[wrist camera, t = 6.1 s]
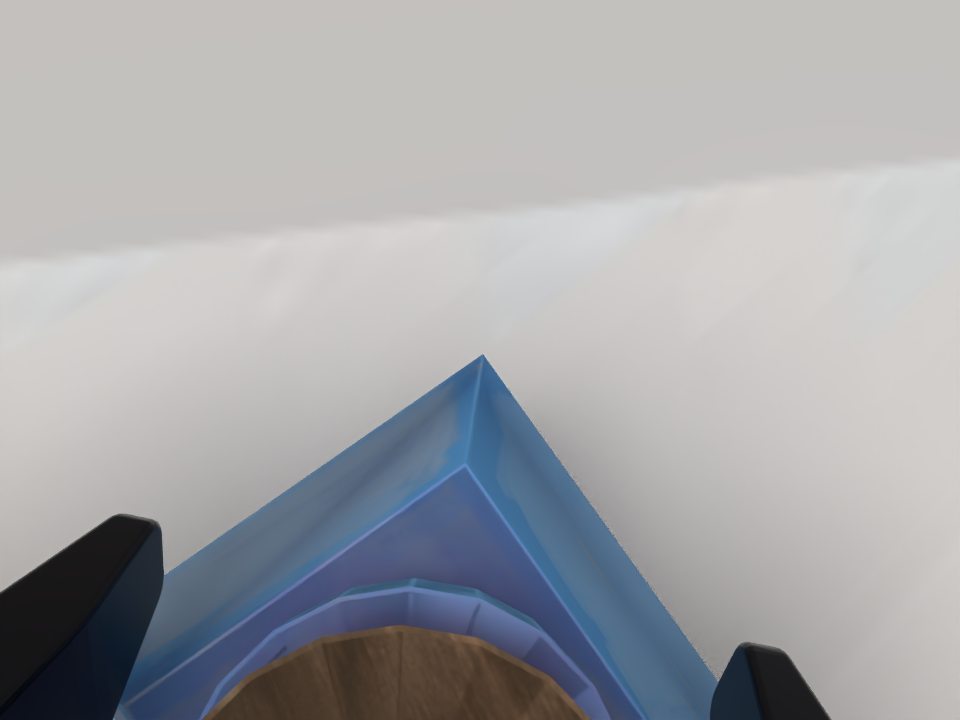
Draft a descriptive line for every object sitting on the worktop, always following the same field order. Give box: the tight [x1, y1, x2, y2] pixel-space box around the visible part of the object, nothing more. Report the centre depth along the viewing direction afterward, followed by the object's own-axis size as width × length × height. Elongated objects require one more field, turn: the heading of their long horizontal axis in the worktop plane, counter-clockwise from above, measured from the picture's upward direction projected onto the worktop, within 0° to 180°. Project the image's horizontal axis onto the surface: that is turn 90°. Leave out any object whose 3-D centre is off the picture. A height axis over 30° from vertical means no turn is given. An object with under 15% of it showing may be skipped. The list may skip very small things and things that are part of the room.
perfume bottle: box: [114, 355, 719, 720], centre depth 11 cm, size 6×6×12 cm
